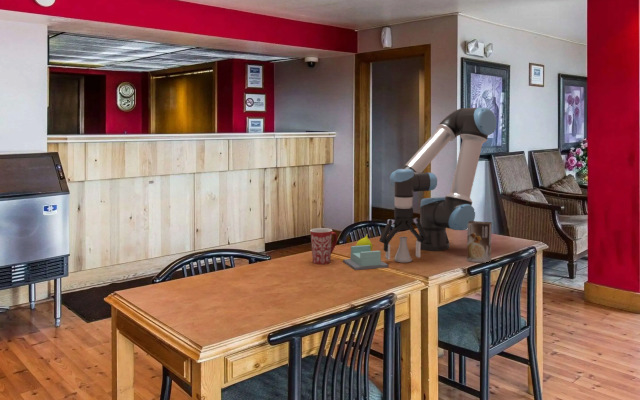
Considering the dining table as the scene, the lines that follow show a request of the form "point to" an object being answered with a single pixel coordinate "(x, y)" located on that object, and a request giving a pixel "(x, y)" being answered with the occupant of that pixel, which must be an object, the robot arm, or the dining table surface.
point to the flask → (403, 251)
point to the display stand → (364, 258)
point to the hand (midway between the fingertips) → (403, 258)
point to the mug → (322, 245)
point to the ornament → (364, 242)
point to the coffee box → (479, 241)
